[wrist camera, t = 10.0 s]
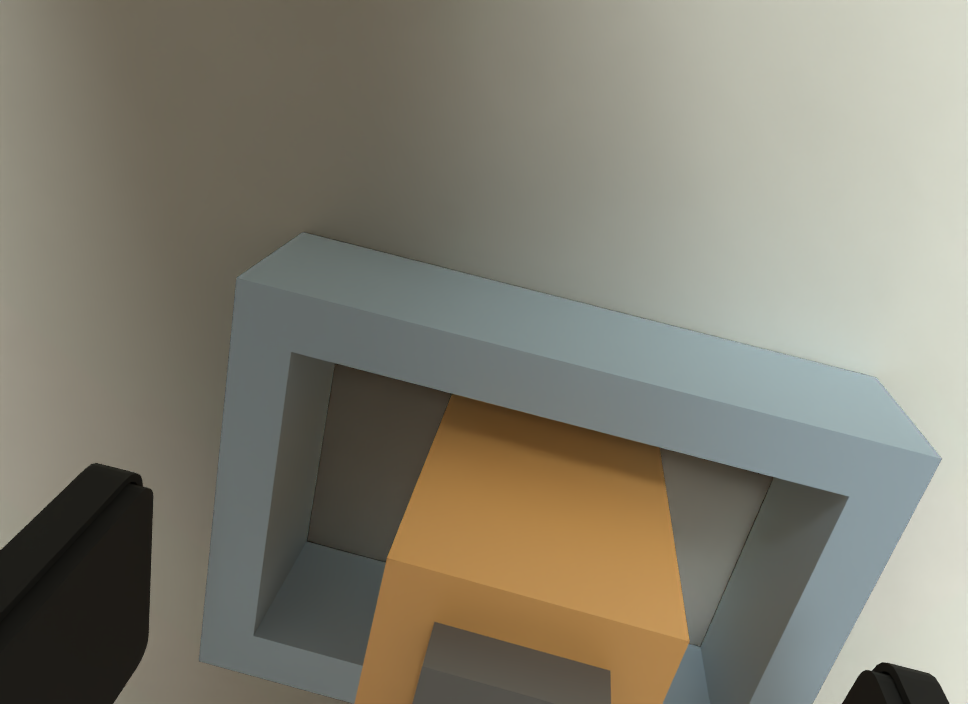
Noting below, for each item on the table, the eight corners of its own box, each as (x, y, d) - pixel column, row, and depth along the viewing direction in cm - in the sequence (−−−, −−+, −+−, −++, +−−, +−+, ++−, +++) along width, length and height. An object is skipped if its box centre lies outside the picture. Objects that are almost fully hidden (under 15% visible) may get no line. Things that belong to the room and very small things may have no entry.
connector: (460, 372, 16) (370, 598, 9) (656, 425, 16) (697, 689, 9) (421, 534, 17) (322, 819, 11) (598, 583, 17) (600, 899, 11)
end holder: (302, 232, 15) (236, 278, 12) (876, 377, 15) (941, 459, 12) (259, 565, 18) (199, 661, 15) (729, 692, 18) (754, 814, 15)
